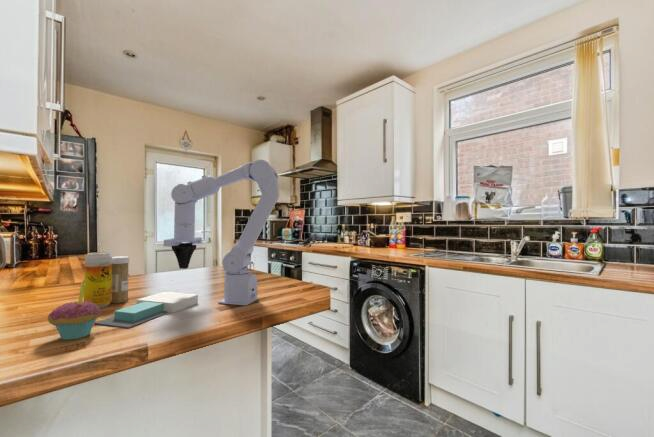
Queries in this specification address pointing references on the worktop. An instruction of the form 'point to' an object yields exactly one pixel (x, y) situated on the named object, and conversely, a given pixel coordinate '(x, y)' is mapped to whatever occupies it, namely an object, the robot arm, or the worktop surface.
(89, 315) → the cupcake
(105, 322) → the mat
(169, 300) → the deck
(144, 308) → the teal rectangular block
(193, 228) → the robot arm
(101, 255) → the beer can
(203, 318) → the worktop surface
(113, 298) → the sprinkles bottle
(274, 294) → the worktop surface
